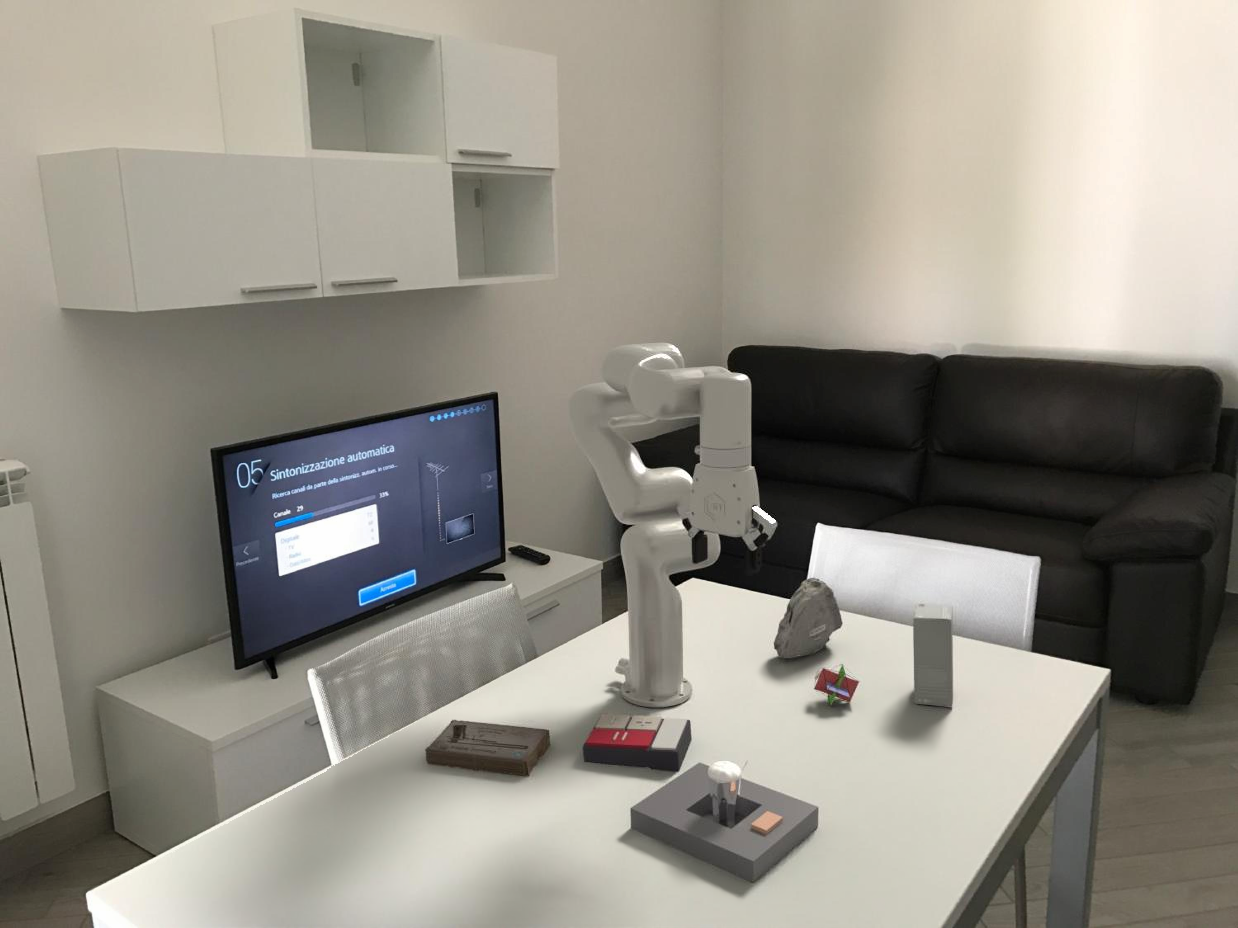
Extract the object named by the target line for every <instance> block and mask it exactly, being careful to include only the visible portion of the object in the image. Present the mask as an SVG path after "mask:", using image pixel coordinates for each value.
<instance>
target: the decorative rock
mask: <svg viewBox="0 0 1238 928" xmlns="http://www.w3.org/2000/svg"><path fill="white" fill-rule="evenodd" d="M842 627H843V620H842V614H841V611H840V608H839V605H838V603H837V598H836V597H835V595H834V590H833V588H831V587H829V585H828V584H827V583H826V582H824V581H823V580H821V579H819V578H816V577H810V578H807V579H805V580H803V581H802V582H801V583H800V586H799V588H798V589H797V590H796V591H795V592H794V593H793V595H792V596H791V598H790V599H789V601H788V603H787V605H786V611H785V613H784V614H783V618H781V620H779V623H778V629H777V633H776V636H775V639H774V641H773V649H774V650H775V651H776V654H777V656H778V657H779V658H780V659H781V658H785V659H794V658H797V657H803V656H807V655H809V656H810V655H814V654H816V652H818V651H820V650H821V649H822V648H823V647H824V646H825V645H826V644H827V643H829V642H830V640H831V639H830V637H831V635H832V634H833V633H834V632H835V631H837V630H839V629H841V628H842Z"/></svg>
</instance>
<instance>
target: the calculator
mask: <svg viewBox="0 0 1238 928" xmlns="http://www.w3.org/2000/svg"><path fill="white" fill-rule="evenodd" d="M691 742H692V725H691V720H690V719H687V718H680V717H679V718H677V717H675V718H674V717H664V718H662V716H659V715H657V716H655V715H633V716H632V717H631V715H629V714H612V713H611V714H608V713H603V714H601V716H600V717H599V718H598V720H597V722H596V723H595V725H594V727H593V729H592V730H591V731H590V733H589V735H588V737H587V739H586V740H585V742H584V744H583V745H582V754H583V755H582V756H583V762H584V763H586V764H597V765H605V766H615V767H626V768H627V767H628V768H642V769H650V770H651V771H652V770H653V771H660V772H661V771H662V772H672V773H678V772H680V770H681V768H682V766H683V762H684V761H685V758H686V756H687V753H688V750H689V747H690V745H691V744H692V743H691Z"/></svg>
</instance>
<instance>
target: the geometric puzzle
mask: <svg viewBox="0 0 1238 928" xmlns="http://www.w3.org/2000/svg"><path fill="white" fill-rule="evenodd" d="M830 667H833V666H830ZM837 667H840V668H839V671H836V670H834V669H835V668H837ZM844 667H845V666H844V663H840V664H838V665H836V666H834V667H833V668H831V669H828V668H825V667H822V668H819V669H818V671H817V672H816V674H815V675H814V682H815V683H814V684H813V686H814V688H813V690H815V691H816V693H818V692H819V693H821V694H822V695H823V696H826V697H827V698H828V703H827V702H826V700H824V702H825V703H826V704H828V705H829V708H832V707H836V706H838V705H839V706H840V705H842V702H845V703H843V704H846V702H847V704H848V703H851V701H852V699H853V697H854V694H855V692H856V690H857V688H858V685H859V683H860V680H858V679H855V677H853V676H850V675H848V674H847V673H846V672H845V671H846V670H845V669H844ZM846 669H847V670H848V668H846ZM848 672H849V673H851V672H850V671H849V670H848ZM834 700H840V701H839V702H837V703H835V704H834V705H833V702H834Z"/></svg>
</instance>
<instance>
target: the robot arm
mask: <svg viewBox="0 0 1238 928" xmlns="http://www.w3.org/2000/svg"><path fill="white" fill-rule="evenodd" d="M602 359H603V360H602V361H601V366H600V367H601V368H600V371H601V376H602V378H603V380H604V382H595V383H590V384H586V385H584V386H581V387H579V388H576V390H574V391H573V392H572V393H571V395H570V396H569V398H568V403H567V416H568V422H569V427H570V431H571V433H572V435H573V438H574V439H575V442H576V443H577V445H578V447H579V448H580V449H581V452H582V453H583V454H584V455H585V457H586V458H587V459H588V460H589V463H590V464H591V465H592V467H593V469H594V471H595V472H596V476H597V478H598V481H599V483H600V486H601V488H602V490H603V492H604V495H605V497H606V500H607V502H608V504H609V507H610V509H611V511H612V514H613V516H614V517H615V518H616V519H617V520H618V521H619V523H621V524H625V525H628V526H629V525H632V526H631V527H628V528H627V529H626V530H625V532H624V533H623V534H622V537H621V539H620V552H621V559H622V563H623V564H622V565H623V568H624V573H625V574H624V575H625V580H626V591H627V594H626V595H627V619H628V622H627V623H628V657H629V658H628V659H627V658H624V657H621V658H620V659H619V660H618V662H617V663H618V664H617V665H616V666H615V669H614V670H615V671H614V672H615V673H616V674H619V675H623V676H624V679H625V680H624V682H623V683H622V684H621V688H620V689H621V696H622V697H623V699H625V700H626V701H627V702H629V703H631V704H634V705H636V706H639V707H644V708H645V707H647V708H666V707H672V706H677V705H679V704H682V703H683V702H686V701H687V700H688V699H690V697H691V696H692V693H693V685H692V684H691V682H690V681H689V680H688V679H686V678H685V677H684V648H683V647H684V646H683V645H684V643H683V642H684V641H683V638H684V637H683V627H684V626H683V600H682V599H683V598H682V596H681V593H680V591H679V589H678V588H677V587H676V586H675V585H674V584H673V583H672V581H671V580H670V578H669V577H670V575H673V574H678V573H682V572H688V571H693V570H697V569H698V570H699V569H703V568H706V567H709V566H711V565H713V564H714V563H715V562H717V560H718V559H719V556H720V554H721V540H720V536H719V535H722V536H727V537H733V538H740V537H741V538H742V539H743V542H745V544H746V546H747V549H745V551H744V552H745V553H744V558H745V559H744V565H745V566H744V567H745V568H744V575H746V576H748V577H751V576H753V575H755V574H758V573H760V572H761V569H762V565H763V564H762V563H763V556H762V555H763V554H762V553H763V547H764V546H766V544H767V543H768V542H769V541H771V539H772V538H773V535H774V534H775V531H776V529H777V527H778V521H776V520H775V519H774V518H772V517H771V516H770V515H768V513H766V512H765V511H764V510H762V509H761V506H760V505H761V504H760V493H759V485H758V477H757V472H756V469H755V466H752V383H751V379H750V378H749V376H748V375H746V374H743V373H739V372H731V371H730V370H728V369H727V368H724V367H723V366H718V365H716V366H715V365H710V366H697V367H685V360H684V358H683V355H682V352H680V350H679V349H678V348H677V347H676V346H675V345H673V344H671V343H668V342H651V343H650V342H648V343H647V342H646V343H634V344H633V343H632V344H623V345H620V346H617V347H614V348H613V349H610V350H609V351H608V353H607V354H606V355H605V356H604V358H602ZM696 417H699V445H696V446H695V448H694V453H695V454H696V455H698V456H699V463H697V464H695V467H694V471H693V474H692V475H693V476H691V475H690V474H689V473H688V472H687V471H686V470H684V469H683V468H680V467H677V466H668V467H667V466H665V467H657V468H648V467H646V466H645V464H644V463H643V461H642V459H641V457H640V454H639V452H638V450H637V448H635V446H634V445H633V444H632V443H631V442H630V441H629V440H628V439H626V438H625V437H623V436H622V435H621V434H619V433H617V432H615V431H614V430H613V429H612V428H623V427H630V426H642V425H648V424H651V423H654V422H656V421H658V420H660V421H666V420H667V421H668V420H678V419H684V418H685V419H687V418H696ZM760 525H762V527H763V529H762V532H760V530H759V528H760Z"/></svg>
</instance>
